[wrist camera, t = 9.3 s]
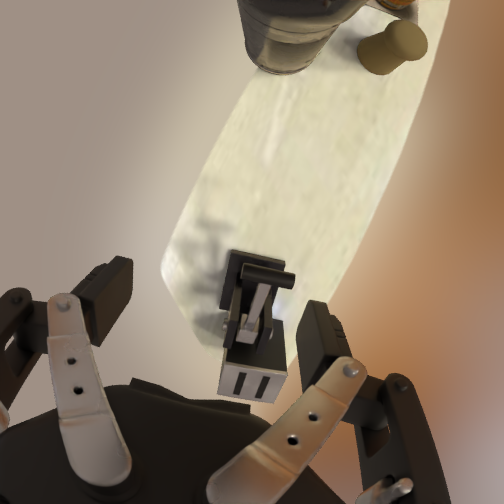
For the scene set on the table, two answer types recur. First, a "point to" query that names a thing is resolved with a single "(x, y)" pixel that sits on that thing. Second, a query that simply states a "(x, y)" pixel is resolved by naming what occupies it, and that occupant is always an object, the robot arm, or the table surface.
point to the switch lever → (259, 297)
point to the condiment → (398, 8)
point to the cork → (392, 47)
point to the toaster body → (254, 368)
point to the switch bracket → (247, 297)
